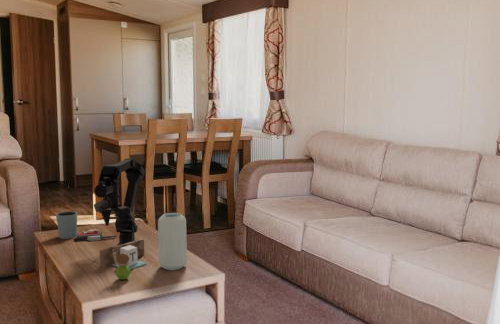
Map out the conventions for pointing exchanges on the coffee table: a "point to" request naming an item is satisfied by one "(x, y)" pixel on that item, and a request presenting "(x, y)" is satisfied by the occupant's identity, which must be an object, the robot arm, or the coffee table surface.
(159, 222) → the vase
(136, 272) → the coffee table surface
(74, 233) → the grey-blue cup
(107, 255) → the walnut screen
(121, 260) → the snail figurine
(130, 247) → the white rectangular block
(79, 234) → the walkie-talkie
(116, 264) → the teal mat
